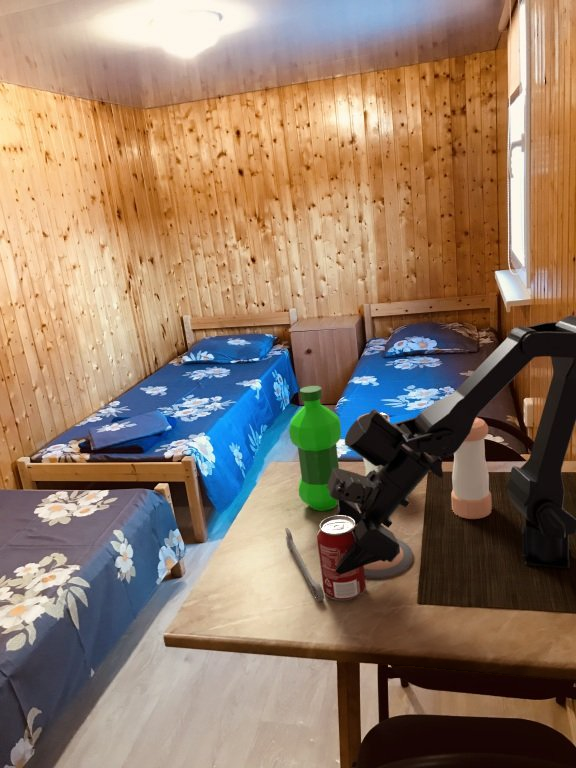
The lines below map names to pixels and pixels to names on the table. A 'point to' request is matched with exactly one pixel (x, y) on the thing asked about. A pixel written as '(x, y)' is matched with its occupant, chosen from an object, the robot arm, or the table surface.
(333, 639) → the table surface
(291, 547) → the combination wrench
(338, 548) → the soda can
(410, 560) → the coaster
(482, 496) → the pepper shaker
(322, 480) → the plastic bottle
